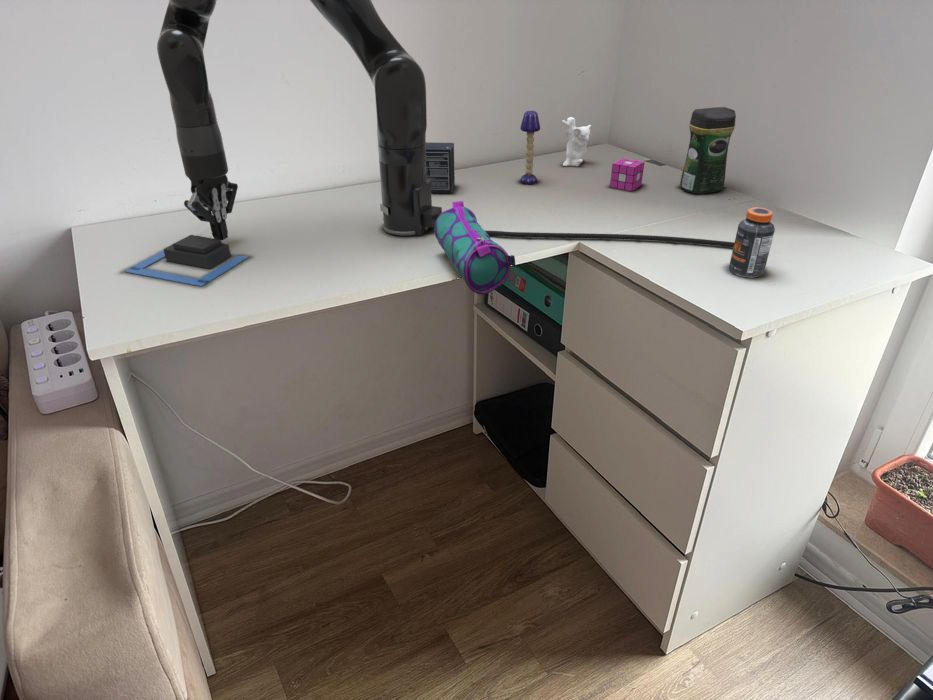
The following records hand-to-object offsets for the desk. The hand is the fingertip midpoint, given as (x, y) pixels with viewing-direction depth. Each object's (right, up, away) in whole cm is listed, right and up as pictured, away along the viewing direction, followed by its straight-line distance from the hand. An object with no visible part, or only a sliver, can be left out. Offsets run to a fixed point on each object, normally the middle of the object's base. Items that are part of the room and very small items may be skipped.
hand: (221, 238), depth 128 cm
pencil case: (+48, -8, -10) cm, 50 cm away
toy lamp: (+63, +19, +34) cm, 74 cm away
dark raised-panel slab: (-3, -5, -4) cm, 7 cm away
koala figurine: (+76, +27, +47) cm, 93 cm away
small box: (+39, +17, +30) cm, 52 cm away
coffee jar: (+103, +16, +29) cm, 109 cm away
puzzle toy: (+86, +18, +31) cm, 93 cm away
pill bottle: (+98, -8, -10) cm, 98 cm away
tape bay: (-4, -6, -6) cm, 9 cm away
